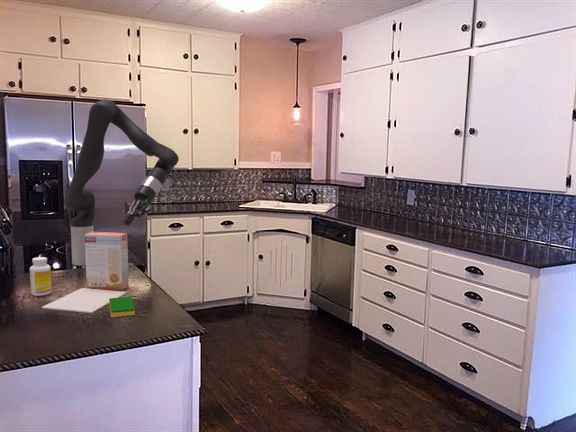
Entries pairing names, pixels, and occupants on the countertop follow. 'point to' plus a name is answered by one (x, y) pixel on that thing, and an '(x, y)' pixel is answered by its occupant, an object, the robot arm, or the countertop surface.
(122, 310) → the dish sponge
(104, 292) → the mat
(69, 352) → the countertop surface
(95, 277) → the cracker box
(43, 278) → the supplement bottle
